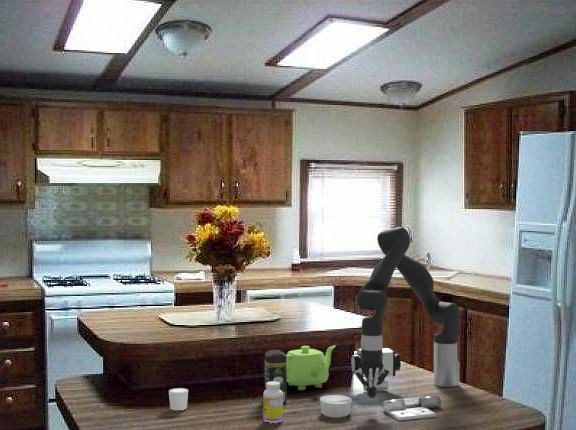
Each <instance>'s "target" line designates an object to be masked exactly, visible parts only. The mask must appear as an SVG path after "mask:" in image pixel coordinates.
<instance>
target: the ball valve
mask: <svg viewBox="0 0 576 430" xmlns="http://www.w3.org/2000/svg"><path fill="white" fill-rule="evenodd" d="M382 363H383V366H384V368H385V369H387V370H389V373H388V375H387V376H386V378H389V377H393V378H394V377H396V373H397V372H399V371H400V370H401V367H402V366H401V365H402V364H401V363H402V362H401V356H400V354H399V352H398V353H397V352H396V351H395V350H393V349H392V348H390V347H389V348H386V347H385V348H384V347H383V361H382ZM360 364H361V348H356V352H355V354H352V355H351V370H352V372H353V373H354V371H357V370H358V369H359V368H360ZM380 374H381V372H380ZM380 374H379V375H380ZM379 375H378V377H379ZM362 377H363V378H365V375H364V373H363V372H362ZM362 387H363V391H364V392H367V386H365V385H363V384H362ZM388 390H389V381H388V380H386V379H384V381H383V382H382V384H381V385H378V386H376V393H377V392H378V393H382V392H386V391H388Z"/></svg>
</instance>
